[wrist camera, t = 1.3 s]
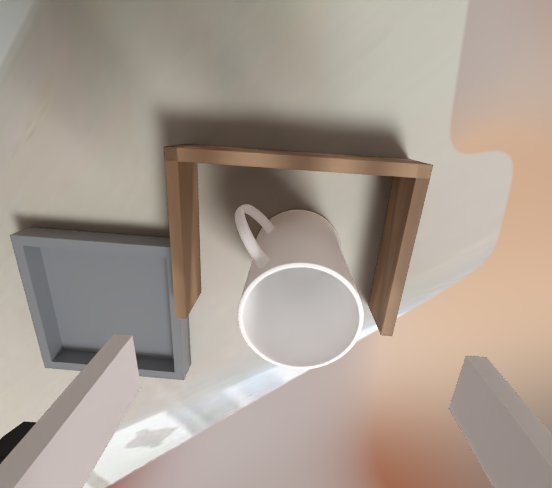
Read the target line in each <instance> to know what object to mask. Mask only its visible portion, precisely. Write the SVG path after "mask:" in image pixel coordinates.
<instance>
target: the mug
mask: <svg viewBox="0 0 552 488" xmlns="http://www.w3.org/2000/svg"><path fill="white" fill-rule="evenodd" d="M245 213H246V214H248V215H250V216H251V217H252V218H254V219H255V220H256V221H257V222H258V223H259V224H260V225H261V226H262V228H261V230H260V232H259V234H258V236H257V239H256V240H255V238H254V236H253V234H252V232H251V230H250V228H249V226H248V223H247V221H246V217H245ZM235 223H236V227H237V230H238V233H239V235H240V237H241V239H242V241H243V243H244V245H245V247H246V249H247V251H248V252H249V254H250V256H251V257H252V259H253V261H252V264H251V267H250V270H249V274H248V277H247V280H246V283H245V287H244V290H243V293H242V296H241V300H240V303H239V308H238V322H239V327H240V330H241V333H242V335H243V337H244V339H245V341H246V342H247V344H248V345H249V346H250V347H251V349H252V350H253V351H254V352H256V353H257V354H258V355H259V356H261V357H262V358H264V359H265V360H267V361H269V362H271V363H273V364H276V365H278V366H282V367H286V368H291V369H311V368H316V367H321V366H324V365H327V364H329V363H332V362H334V361H335V360H337V359H339V358H340V357H342V356H343V355H344V354H345V353H347V352H348V351H349V350H350V349H351V348H352V346H353V345H354V344H355V342H356V341H357V339H358V337H359V335H360V333H361V330H362V326H363V319H364V313H363V306H362V302H361V299H360V296H359V294H358V291H357V289H356V286H355V284H354V281H353V279H352V276H351V274H350V271H349V269H348V266H347V264H346V261H345V259H344V256H343V254H342V251H341V245H340V240H339V237H338V234H337V232H336V230H335V229H334V227H333V226H332V225H331V224H330V223H329V222H328V221H327V220H326V219H325V218H324V217H322V216H320V215H319V214H316V213H314V212H311V211H307V210H289V211H285V212H282V213H279V214H277V215H276V216H274V217H272V218H271V219H270V220H268V218H267V217H266V216H265V215H264V214H262V213H261V212H260V211H259V210H258V209H256V208H255V207H253V206H251V205H249V204H243V205H241V206H240V207H238V209H237V210H236V212H235Z"/></svg>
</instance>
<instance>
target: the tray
mask: <svg viewBox="0 0 552 488" xmlns="http://www.w3.org/2000/svg"><path fill="white" fill-rule="evenodd" d="M10 238H11V242H12V245H13V249H14V253H15V257H16V260H17V264H18V268H19V272H20V276H21V279H22V283H23V287H24V291H25V294H26V298H27V302H28V306H29V310H30V313H31V317H32V321H33V325H34V328H35V332H36V336H37V340H38V343H39V347H40V351H41V355H42V359H43V362H44V366H45V368H53V369H65V370H76V371H82V370H83V369H84V368H85V366H86V365H87V364H88V363H89V362H90V361H91V360H92V358H93V357H94V356H95V355H96V354H97V353H98V352H99V350H100V349H101V348H102V347H103V346H104V345H105V344H106V342H107V341H108V340H109V339H110V338H111V337H112V336H113V334H121V335H133V341H134V348H135V354H136V360H137V366H138V372H139V376H143V377H154V378H166V379H177V380H184V379H185V377H186V374H187V372H188V370H189V367H190V365H191V354H190V333H189V314H188V316H187V318H186V319H180V318H175V306H174V291H173V276H172V261H171V246H170V238H167V237H153V236H140V235H127V234H114V233H101V232H88V231H75V230H62V229H49V228H36V227H30V228H27V229H25V230H22V231H19V232H17V233H14V234H11V235H10Z"/></svg>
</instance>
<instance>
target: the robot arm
mask: <svg viewBox="0 0 552 488" xmlns="http://www.w3.org/2000/svg"><path fill="white" fill-rule="evenodd" d="M140 389H141V385H140V379H139V372H138V366H137V360H136V354H135V348H134V341H133V335H121V334H113V336H112V337H111V338H110V339H109V340H108V341H107V342H106V344H105V345H104V346H103V347H102V348H101V349H100V350H99V352H98V353H97V354H96V355H95V356H94V357H93V358H92V360H91V361H90V362H89V363H88V364H87V365H86V366H85V368H84V369H83V370H82V371H81V372H80V373H79V375H78V376H77V377H76V378H75V379H74V380H73V381H72V383H71V384H70V385H69V386H68V387H67V388H66V389H65V391H64V392H63V393H62V394H61V395H60V396H59V397H58V399H57V400H56V401H55V402H54V403H53V404H52V405H51V407H50V408H49V409H48V410H47V411H46V412H45V413H44V415H43V416H42V417H41V418H40V419H39V420H38V421H37V423H36V422H23V423H21V424H20V425H19V426H17V427H16V428H14V429H13V430H12V431H10V432H9V433H8V434H6V435H5V436H3V437H2V438H1V439H0V488H82V487H83V486H84V484H85V482H86V481H87V479H88V477H89V476H90V474H91V472H92V470H93V469H94V467H95V465H96V464H97V462H98V460H99V459H100V457H101V455H102V453H103V452H104V450H105V448H106V447H107V445H108V443H109V441H110V440H111V438H112V436H113V435H114V433H115V431H116V430H117V428H118V426H119V424H120V423H121V421H122V419H123V418H124V416H125V414H126V412H127V411H128V409H129V407H130V406H131V404H132V402H133V401H134V399H135V397H136V395H137V394H138V392H139V390H140ZM449 410H450V411H451V413H452V415H453V417H454V419H455V420H456V422H457V424H458V426H459V428H460V429H461V431H462V433H463V435H464V436H465V438H466V440H467V442H468V443H469V445H470V447H471V449H472V451H473V452H474V454H475V456H476V458H477V460H478V461H479V463H480V465H481V467H482V469H483V470H484V472H485V474H486V476H487V478H488V479H489V481H490V483H491V485H492V486H493V488H552V434H551V433H550V432H549V430H548V429H547V428H546V427H545V426H544V425H543V423H542V422H541V421H540V420H539V419H538V418H537V416H536V415H535V414H534V413H533V412H532V411H531V409H530V408H529V407H528V406H527V405H526V404H525V402H524V401H523V400H522V399H521V398H520V396H519V395H518V394H517V393H516V392H515V390H514V389H513V388H512V387H511V386H510V385H509V384H508V382H507V381H506V380H505V379H504V378H503V376H502V375H501V374H500V373H499V372H498V371H497V369H496V368H495V367H494V366H493V365H492V363H491V362H490V361H489V360H488V359H487V358H486V357H479V356H465V360H464V363H463V366H462V369H461V372H460V376H459V379H458V382H457V385H456V388H455V391H454V394H453V397H452V400H451V404H450V407H449Z"/></svg>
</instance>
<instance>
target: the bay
mask: <svg viewBox="0 0 552 488" xmlns="http://www.w3.org/2000/svg"><path fill="white" fill-rule="evenodd" d="M164 156H165V171H166V186H167V201H168V216H169V231H170V246H171V261H172V276H173V291H174V306H175V318H180V319H186V318H187V316H188V314H189V313H190V311H191V309H192V307H193V306H194V304H195V302H196V300H197V299H198V297H199V295H200V293H201V269H200V236H199V202H198V169H197V163H208V164H222V165H237V166H251V167H265V168H280V169H294V170H309V171H323V172H337V173H352V174H366V175H381V176H394V178H393V183H392V188H391V193H390V198H389V203H388V208H387V214H386V219H385V224H384V229H383V234H382V239H381V244H380V249H379V254H378V259H377V264H376V269H375V274H374V280H373V285H372V290H371V295H370V300H369V305H368V306H369V308H370V311H371V313H372V315H373V318H374V320H375V322H376V324H377V327H378V329H379V331H380V334H381V335H384V336H392V334H393V330H394V326H395V322H396V318H397V314H398V310H399V305H400V301H401V297H402V293H403V289H404V285H405V280H406V276H407V272H408V268H409V264H410V259H411V255H412V251H413V247H414V243H415V239H416V234H417V230H418V226H419V222H420V218H421V213H422V209H423V205H424V201H425V197H426V193H427V188H428V184H429V180H430V176H431V172H432V167H433V165H431V164H427V163H423V162H419V161H415V160H411V159H402V158H387V157H372V156H357V155H343V154H328V153H313V152H298V151H284V150H269V149H254V148H239V147H225V146H210V145H195V144H181V145H174V146H166V147H164Z"/></svg>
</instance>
